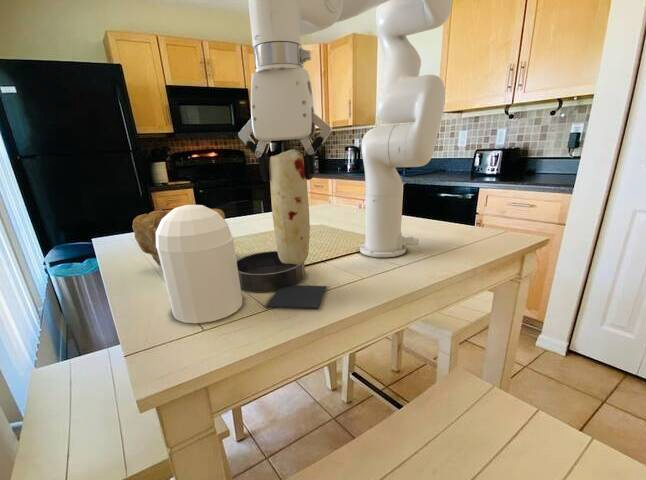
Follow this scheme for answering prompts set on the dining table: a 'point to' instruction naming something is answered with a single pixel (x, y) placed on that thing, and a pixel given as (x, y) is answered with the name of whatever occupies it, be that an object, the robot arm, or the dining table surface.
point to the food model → (290, 206)
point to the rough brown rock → (152, 231)
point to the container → (198, 264)
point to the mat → (297, 297)
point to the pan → (267, 272)
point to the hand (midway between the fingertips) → (288, 178)
